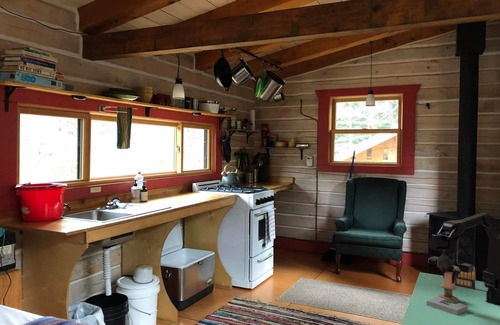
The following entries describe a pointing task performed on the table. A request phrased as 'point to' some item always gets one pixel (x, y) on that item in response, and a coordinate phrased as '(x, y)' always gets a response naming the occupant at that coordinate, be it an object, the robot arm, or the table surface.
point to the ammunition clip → (466, 280)
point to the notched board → (447, 306)
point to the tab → (448, 279)
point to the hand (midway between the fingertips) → (449, 282)
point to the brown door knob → (448, 294)
